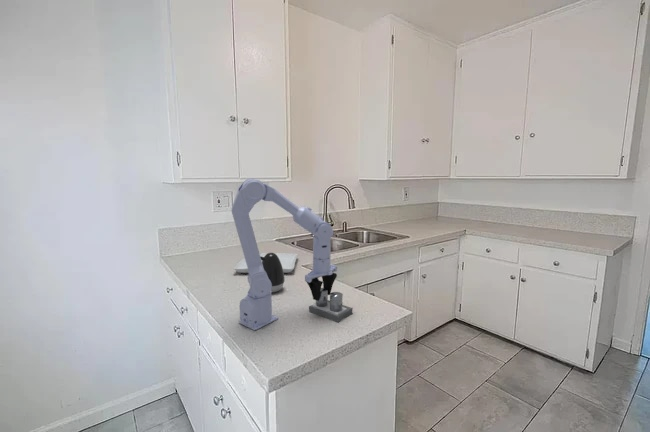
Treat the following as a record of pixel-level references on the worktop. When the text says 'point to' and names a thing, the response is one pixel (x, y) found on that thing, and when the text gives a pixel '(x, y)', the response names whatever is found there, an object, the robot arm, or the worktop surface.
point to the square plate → (285, 259)
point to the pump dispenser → (273, 271)
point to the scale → (331, 312)
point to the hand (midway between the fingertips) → (321, 296)
